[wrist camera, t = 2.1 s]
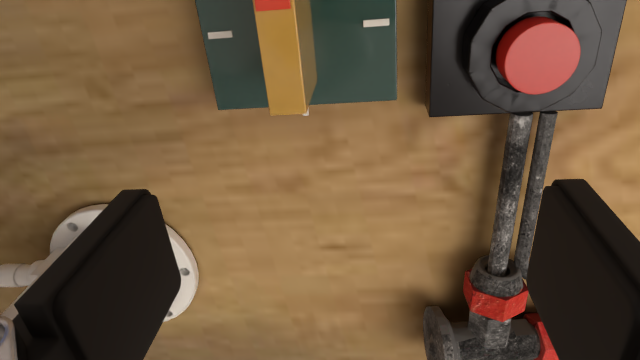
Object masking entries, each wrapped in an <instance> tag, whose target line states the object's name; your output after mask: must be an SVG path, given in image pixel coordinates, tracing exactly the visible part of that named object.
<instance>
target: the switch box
mask: <svg viewBox="0 0 640 360" xmlns="http://www.w3.org/2000/svg"><path fill="white" fill-rule="evenodd" d="M626 1H627V0H428V18H427V55H426V93H425V106H426V109H427V112H428V114H429V117H443V116H462V115H482V114H502V113H522V112H541V111H561V110H581V109H601V108H602V106H603V101H604V97H605V93H606V88H607V84H608V80H609V75H610V71H611V67H612V62H613V58H614V54H615V49H616V45H617V41H618V36H619V32H620V27H621V23H622V19H623V14H624V10H625V6H626ZM536 16H541V17H547V18H550V19H553V20H555V21H557V22H559V23H561V24H564V25H566V26H567V27H569V28H570V29H571V30H573V31H574V33H575V34H576V35H577V37H578V39H579V42H580V47H581V54H580V59H579V63H578V65H577V68H576V69H575V71H574V73H573V74H572V76H571V77H570V78H569V79H568V80H567V81H566V82H565V83H564V84H562V85H561V86H560V87H558V88H556V89H554V90H552V91H550V92H547V93H543V94H537V95H532V94H526V93H522V92H520V91H518V90H516V89H515V88H514V87H512V86H511V85H510V84H509V82H508V81H507V80H506V79H505V78H504V77H503V76H502V75H501V74H500V72H499V70H498V68H497V65H496V50H497V47H498V44H499V42H500V40H501V38H502V37H503V35H504V34H505V33H506V32H507V31H508V29H510V28H511V27H512V26H513V25H515V24H516V23H518V22H519V21H521V20H524V19H526V18H530V17H536Z"/></svg>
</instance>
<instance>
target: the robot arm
mask: <svg viewBox="0 0 640 360" xmlns="http://www.w3.org/2000/svg"><path fill="white" fill-rule="evenodd" d="M526 281H527V288H528V292H529V294H530V296H531V299H532V301H533V303H534V305H535V308H536V310H537V312H538V314H539V316H540V319H541V321H542V323H543V325H544V327H545V330H546V332H547V334H548V336H549V339H550V341H551V343H552V345H553V347H554V350H555V352H556V354H557V356H558V359H559V360H640V242H639V241H638V239H637V238H636V237H635V236H634V235H633V234H632V233H631V231H630V230H629V229H628V228H627V227H626V226H625V225H624V224H623V222H622V221H621V220H620V219H619V218H618V217H617V216H616V214H615V213H614V212H613V211H612V210H611V209H610V208H609V207H608V205H607V204H606V203H605V202H604V201H603V200H602V199H601V198H600V196H599V195H598V194H597V193H596V192H595V191H594V190H593V188H592V187H591V186H590V185H589V184H588V183H587V182H586V181H585V180H584V179H562V180H555V181H553V183H552V185H551V186H546V187H545V188H544V190H543V194H542V199H541V204H540V209H539V215H538V220H537V225H536V230H535V235H534V240H533V246H532V251H531V256H530V261H529V266H528V272H527V278H526ZM198 283H199V272H198V268H197V263H196V260H195V258H194V256H193V254H192V252H191V250H190V249H189V247H188V246H187V244H186V243H185V242H184V240H183V239H182V238H181V237H180V236H179V235H178V234H177V233H176V232H175V231H174V230H173V229H172V228H170V227H169V226H168V225H166V224H165V222H164V219H163V215H162V212H161V209H160V206H159V202H158V199H157V197H156V196H155V195H151V193H150V192H149V191H148V190H146V189H136V190H122V191H121V192H120V193H119V194H118V195H117V196H116V197H115V198H114V199H113V200H112V201H111V202H110V203H109V204H100V205H91V206H88V207H85V208H82V209H79V210H77V211H76V212H74V213H72V214H71V215H69V216H68V217H67V218H66V219H65V220H64V221H63V222H62V223H61V224H60V225H59V226H58V227H57V229H56V230H55V232H54V233H53V236H52V239H51V242H50V255H49V256H48V257H47V258H46V259H45V260H37V261H35V262H34V263H32V265H27V264H24V263H21V264H2V265H0V287H24V286H28V287H27V288H26V289H25V290H24V291H23V292H22V293H21V294H20V295H19V296H18V298H17V299H16V300H15V301H14V302H13V303H12V304H11V305H10V306H9V307H8V308H7V309H6V310H5V311H4V312H3V313H2V314H1V315H0V360H143V359H144V357H145V355H146V353H147V351H148V349H149V347H150V345H151V344H152V342H153V340H154V338H155V336H156V334H157V332H158V330H159V328H160V326H161V324H162V323H163V322H164V321H168V320H170V319H172V318H175V317H177V316H178V315H179V314H181V313H182V312H183V311H185V309H186V308H187V307H188V306H189V305H190V303H191V301H192V299H193V297H194V295H195V293H196V290H197V287H198Z"/></svg>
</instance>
